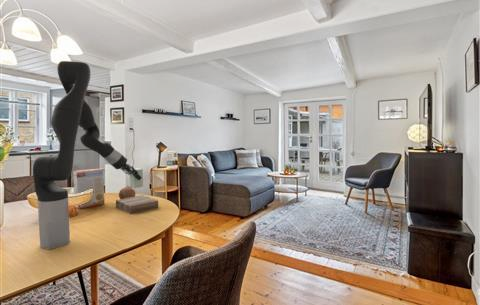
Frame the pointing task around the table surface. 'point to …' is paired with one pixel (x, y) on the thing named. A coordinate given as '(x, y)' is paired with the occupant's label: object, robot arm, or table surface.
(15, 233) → the table surface
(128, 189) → the onion
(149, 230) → the table surface
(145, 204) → the walnut base
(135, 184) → the sage block
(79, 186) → the cracker box
